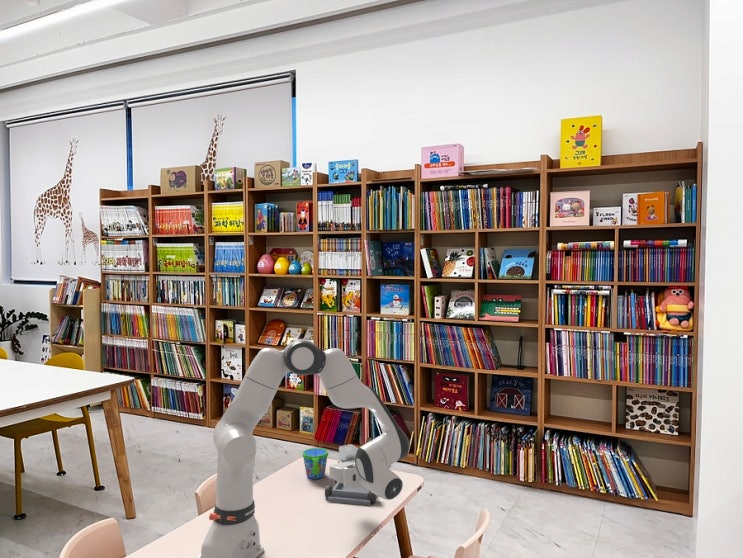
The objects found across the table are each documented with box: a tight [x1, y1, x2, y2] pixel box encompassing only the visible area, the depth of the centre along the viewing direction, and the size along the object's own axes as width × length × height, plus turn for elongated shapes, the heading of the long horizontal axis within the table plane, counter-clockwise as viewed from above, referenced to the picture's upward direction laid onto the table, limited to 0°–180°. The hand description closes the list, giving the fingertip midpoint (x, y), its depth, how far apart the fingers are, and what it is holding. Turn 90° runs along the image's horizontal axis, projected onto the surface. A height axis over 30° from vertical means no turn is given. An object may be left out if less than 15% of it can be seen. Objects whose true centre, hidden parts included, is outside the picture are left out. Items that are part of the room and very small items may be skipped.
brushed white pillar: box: [338, 443, 359, 462], centre depth 194 cm, size 5×5×11 cm
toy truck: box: [324, 480, 378, 506], centre depth 211 cm, size 20×19×4 cm
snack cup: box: [302, 447, 329, 480], centre depth 227 cm, size 16×10×10 cm
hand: (347, 460), depth 195 cm, fingers closed on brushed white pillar, 5 cm apart
